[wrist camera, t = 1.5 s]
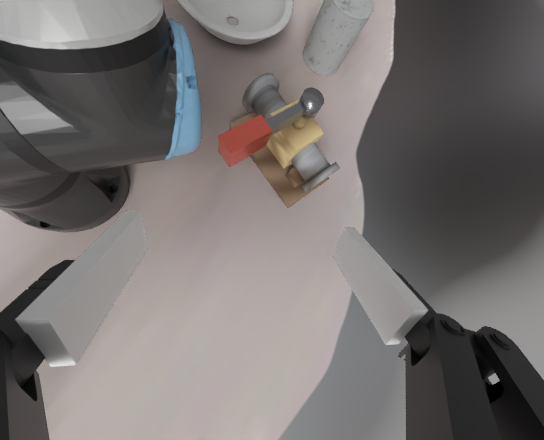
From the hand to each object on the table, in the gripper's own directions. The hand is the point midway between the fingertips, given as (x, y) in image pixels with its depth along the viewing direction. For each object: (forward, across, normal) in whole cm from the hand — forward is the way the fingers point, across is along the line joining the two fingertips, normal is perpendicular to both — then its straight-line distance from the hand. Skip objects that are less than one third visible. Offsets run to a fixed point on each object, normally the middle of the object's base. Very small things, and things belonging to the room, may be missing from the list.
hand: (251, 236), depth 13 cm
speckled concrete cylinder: (+49, +18, +20) cm, 56 cm away
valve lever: (+19, +3, +4) cm, 20 cm away
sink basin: (+51, -4, +22) cm, 56 cm away
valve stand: (+31, +8, -1) cm, 32 cm away
